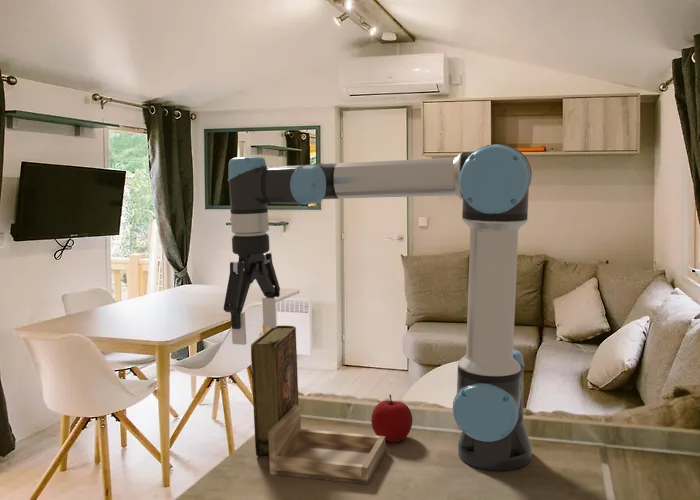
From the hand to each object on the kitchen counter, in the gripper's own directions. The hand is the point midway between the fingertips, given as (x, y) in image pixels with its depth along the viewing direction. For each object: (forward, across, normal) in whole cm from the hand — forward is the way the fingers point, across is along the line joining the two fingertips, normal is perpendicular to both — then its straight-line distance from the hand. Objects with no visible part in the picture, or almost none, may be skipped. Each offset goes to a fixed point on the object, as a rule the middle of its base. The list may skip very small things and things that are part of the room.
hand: (255, 335), depth 145 cm
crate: (+27, -2, +14) cm, 31 cm away
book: (+27, -8, 0) cm, 28 cm away
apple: (+27, -18, +24) cm, 40 cm away
